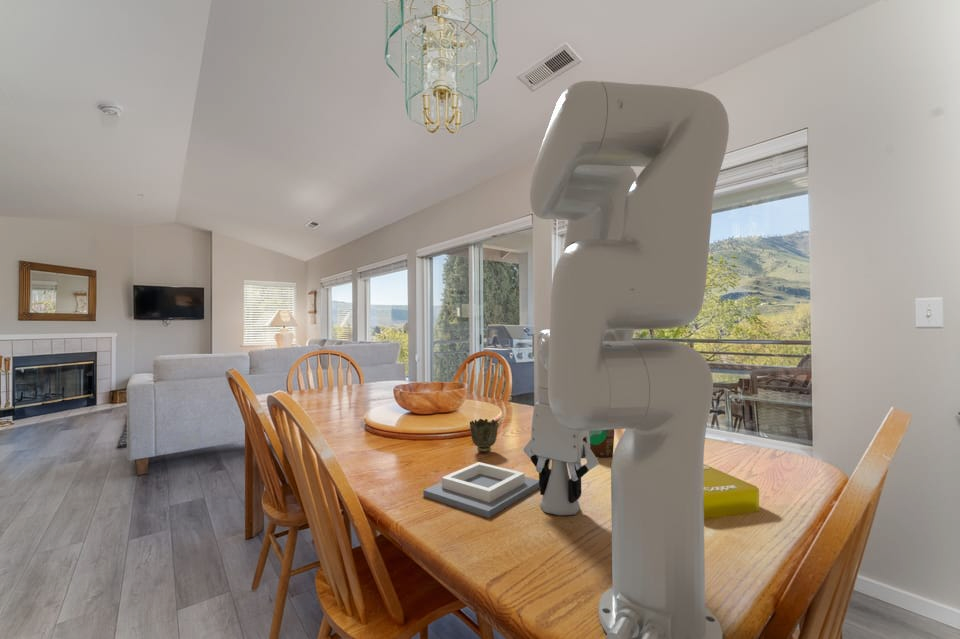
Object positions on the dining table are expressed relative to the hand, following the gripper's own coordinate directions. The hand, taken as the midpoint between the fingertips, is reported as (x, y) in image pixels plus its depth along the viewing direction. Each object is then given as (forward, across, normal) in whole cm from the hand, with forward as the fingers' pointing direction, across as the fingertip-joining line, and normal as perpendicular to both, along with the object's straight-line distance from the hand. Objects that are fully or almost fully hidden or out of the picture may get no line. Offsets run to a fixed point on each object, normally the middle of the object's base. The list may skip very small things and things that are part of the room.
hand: (559, 495), depth 79 cm
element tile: (+3, -19, -19) cm, 27 cm away
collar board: (+2, +16, +2) cm, 16 cm away
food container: (+3, +9, -34) cm, 35 cm away
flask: (+3, 0, 0) cm, 3 cm away
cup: (+3, +32, -19) cm, 37 cm away
